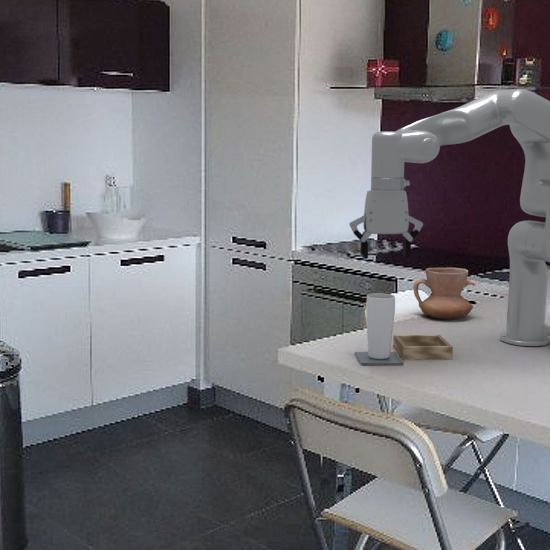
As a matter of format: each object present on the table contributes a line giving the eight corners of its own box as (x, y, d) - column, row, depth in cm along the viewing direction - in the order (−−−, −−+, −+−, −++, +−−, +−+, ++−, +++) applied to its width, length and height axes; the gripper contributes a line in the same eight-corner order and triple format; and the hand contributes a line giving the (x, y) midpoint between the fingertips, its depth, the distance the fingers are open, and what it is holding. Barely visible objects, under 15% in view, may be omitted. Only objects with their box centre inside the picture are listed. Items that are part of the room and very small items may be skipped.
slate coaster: (394, 353, 208) (394, 351, 208) (403, 365, 198) (403, 362, 198) (354, 354, 207) (354, 351, 207) (361, 365, 198) (361, 363, 197)
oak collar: (439, 346, 216) (440, 334, 215) (452, 359, 204) (452, 347, 204) (393, 346, 215) (393, 335, 214) (403, 359, 203) (403, 347, 203)
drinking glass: (392, 361, 199) (394, 299, 196) (363, 359, 200) (365, 297, 198) (394, 354, 205) (396, 293, 203) (366, 352, 207) (368, 292, 204)
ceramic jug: (475, 313, 254) (477, 267, 252) (474, 323, 241) (475, 274, 238) (415, 310, 259) (416, 265, 257) (410, 320, 245) (411, 272, 243)
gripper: (419, 183, 201) (417, 255, 204) (347, 184, 200) (346, 255, 203) (427, 186, 194) (425, 260, 197) (353, 186, 192) (351, 260, 195)
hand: (385, 257), depth 200 cm, fingers open, 9 cm apart
